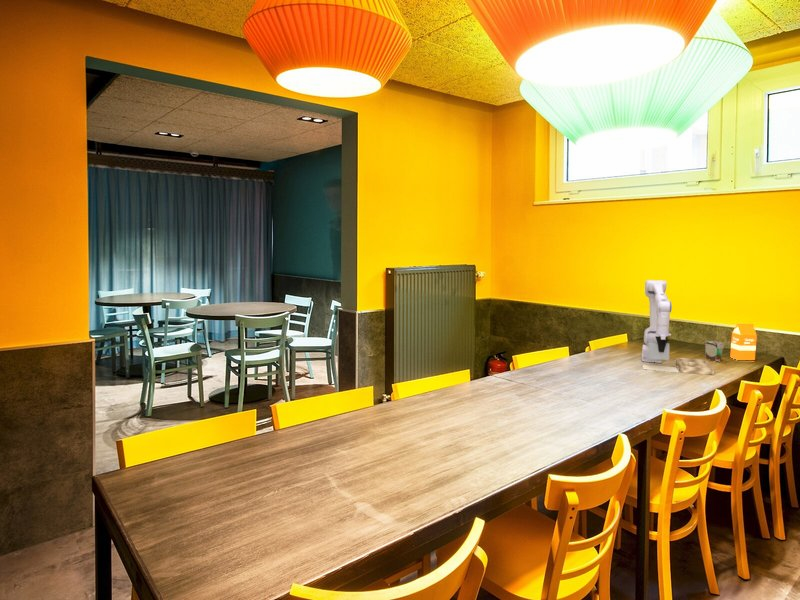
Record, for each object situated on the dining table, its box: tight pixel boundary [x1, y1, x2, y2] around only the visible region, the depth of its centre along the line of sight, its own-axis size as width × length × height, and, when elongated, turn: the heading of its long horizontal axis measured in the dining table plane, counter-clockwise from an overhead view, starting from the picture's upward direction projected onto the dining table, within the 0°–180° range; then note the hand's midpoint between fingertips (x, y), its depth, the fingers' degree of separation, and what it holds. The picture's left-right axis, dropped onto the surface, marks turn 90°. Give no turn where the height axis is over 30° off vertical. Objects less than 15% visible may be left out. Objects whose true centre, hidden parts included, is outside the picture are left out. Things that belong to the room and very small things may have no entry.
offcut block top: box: [689, 362, 701, 368], centre depth 259 cm, size 5×4×2 cm
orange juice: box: [729, 323, 757, 361], centre depth 287 cm, size 8×9×20 cm
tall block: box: [649, 342, 671, 361], centre depth 264 cm, size 3×9×8 cm, turn 68°
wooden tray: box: [675, 357, 715, 375], centre depth 266 cm, size 14×22×4 cm, turn 158°
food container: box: [704, 340, 725, 363], centre depth 285 cm, size 12×6×10 cm, turn 179°
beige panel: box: [641, 364, 680, 374], centre depth 265 cm, size 16×10×1 cm, turn 68°
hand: (660, 351), depth 264 cm, fingers closed on tall block, 3 cm apart
